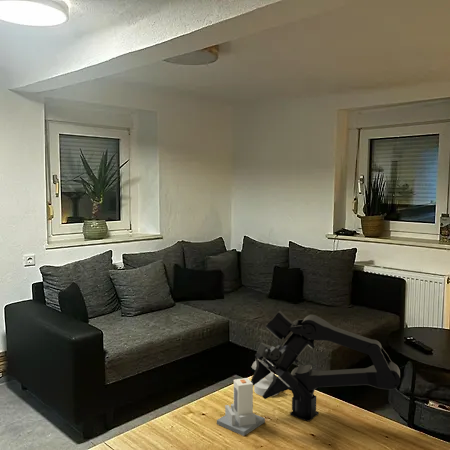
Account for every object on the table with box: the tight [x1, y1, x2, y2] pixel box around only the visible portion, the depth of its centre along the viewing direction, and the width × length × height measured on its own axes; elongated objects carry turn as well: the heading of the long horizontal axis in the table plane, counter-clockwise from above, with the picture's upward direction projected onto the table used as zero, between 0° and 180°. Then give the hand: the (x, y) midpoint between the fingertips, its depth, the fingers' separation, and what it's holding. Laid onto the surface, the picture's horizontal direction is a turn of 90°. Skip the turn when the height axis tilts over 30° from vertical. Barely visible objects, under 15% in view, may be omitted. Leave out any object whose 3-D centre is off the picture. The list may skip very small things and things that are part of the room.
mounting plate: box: [216, 403, 266, 437], centre depth 135 cm, size 10×10×4 cm
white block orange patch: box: [233, 377, 254, 423], centre depth 136 cm, size 4×4×11 cm
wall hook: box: [251, 360, 280, 397], centre depth 157 cm, size 9×10×10 cm
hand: (257, 391), depth 136 cm, fingers open, 9 cm apart
